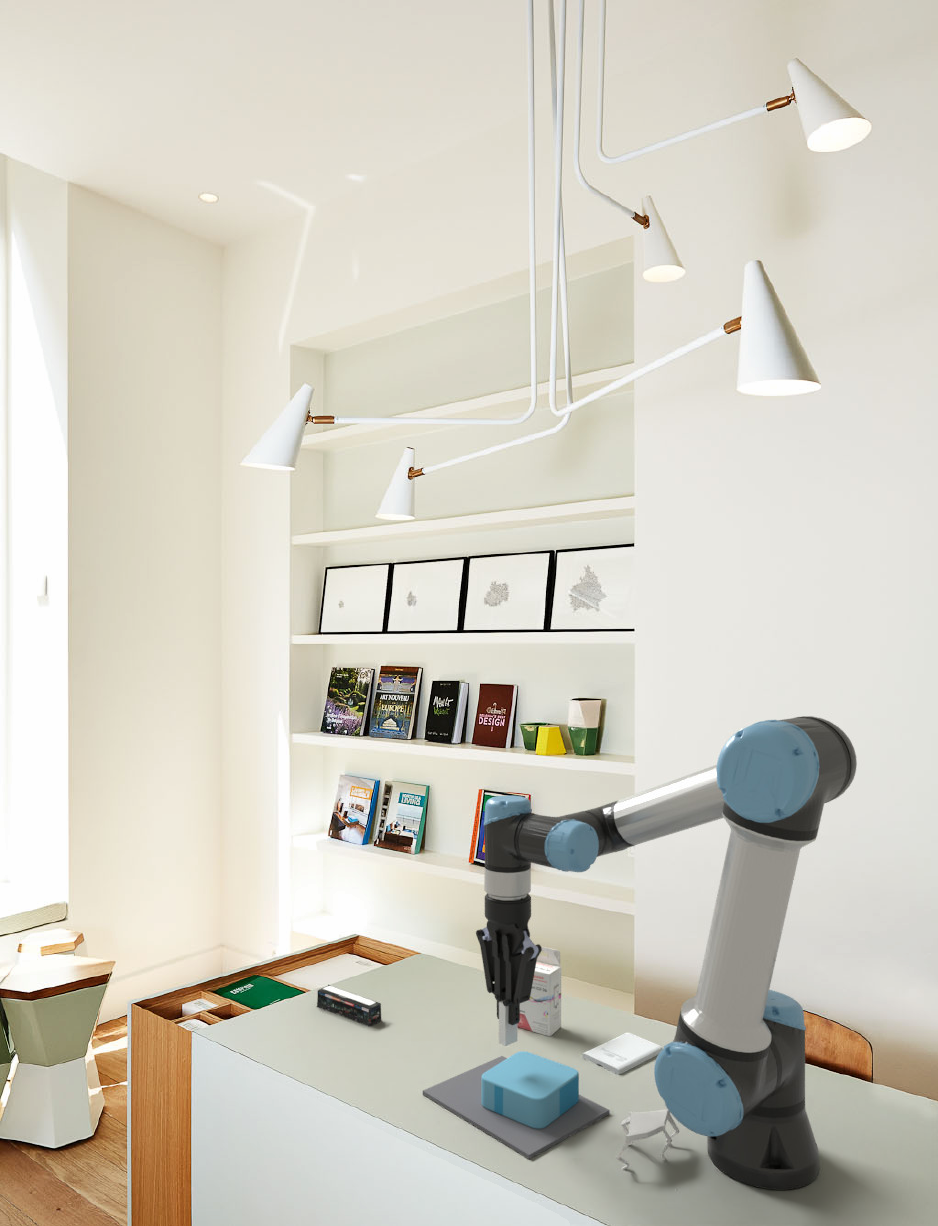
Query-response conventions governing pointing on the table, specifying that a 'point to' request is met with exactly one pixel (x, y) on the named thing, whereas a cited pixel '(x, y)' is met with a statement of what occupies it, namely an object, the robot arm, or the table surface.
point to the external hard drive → (622, 1053)
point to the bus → (349, 1005)
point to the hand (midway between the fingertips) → (508, 1041)
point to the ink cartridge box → (544, 996)
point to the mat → (529, 1142)
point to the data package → (530, 1089)
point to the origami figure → (646, 1129)
